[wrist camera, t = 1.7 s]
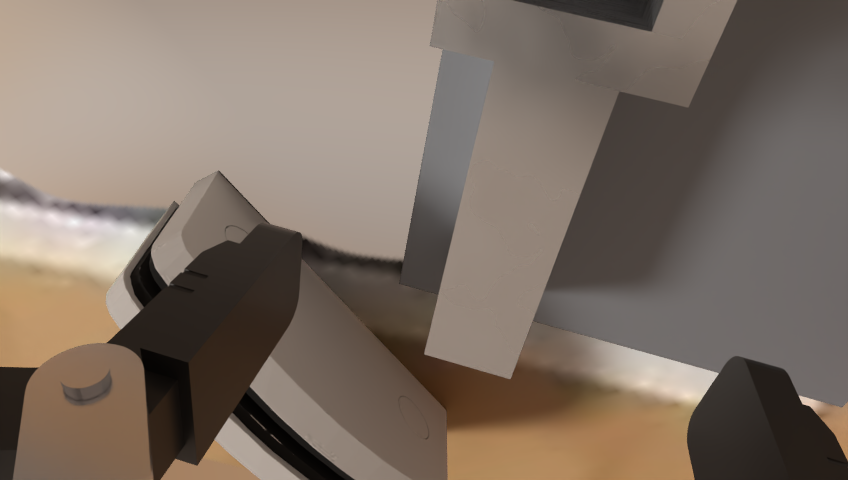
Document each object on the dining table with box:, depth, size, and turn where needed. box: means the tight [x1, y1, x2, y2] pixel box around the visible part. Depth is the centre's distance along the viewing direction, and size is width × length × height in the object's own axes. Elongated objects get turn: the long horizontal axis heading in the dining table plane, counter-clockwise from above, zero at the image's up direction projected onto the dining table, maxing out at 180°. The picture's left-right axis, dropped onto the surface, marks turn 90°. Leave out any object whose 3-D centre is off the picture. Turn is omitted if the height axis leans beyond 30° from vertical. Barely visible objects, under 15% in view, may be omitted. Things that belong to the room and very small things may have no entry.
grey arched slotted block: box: [106, 170, 447, 480], centre depth 24 cm, size 17×5×10 cm, turn 39°
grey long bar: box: [424, 0, 737, 379], centre depth 16 cm, size 16×6×5 cm, turn 170°
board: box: [399, 0, 848, 407], centre depth 18 cm, size 20×18×1 cm
